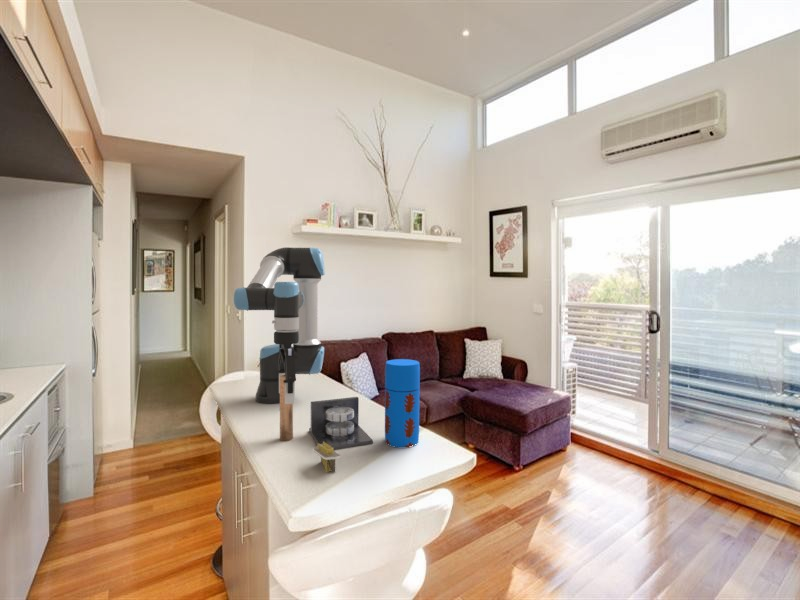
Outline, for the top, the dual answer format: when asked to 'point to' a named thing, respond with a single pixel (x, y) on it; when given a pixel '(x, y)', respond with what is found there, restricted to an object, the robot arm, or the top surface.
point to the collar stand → (337, 423)
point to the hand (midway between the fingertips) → (286, 398)
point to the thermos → (402, 402)
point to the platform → (327, 456)
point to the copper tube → (285, 414)
